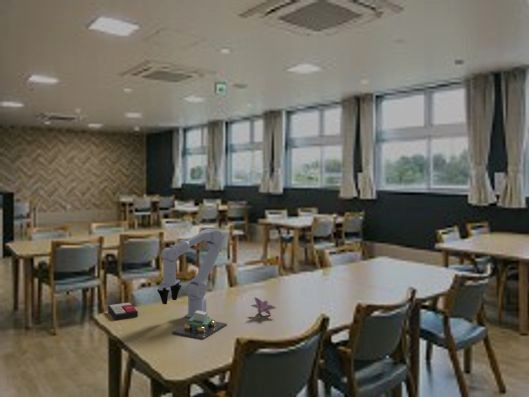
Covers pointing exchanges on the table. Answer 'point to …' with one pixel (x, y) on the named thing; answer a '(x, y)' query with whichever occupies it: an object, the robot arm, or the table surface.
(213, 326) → the chassis
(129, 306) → the grey and red box
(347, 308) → the table surface
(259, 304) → the lily
